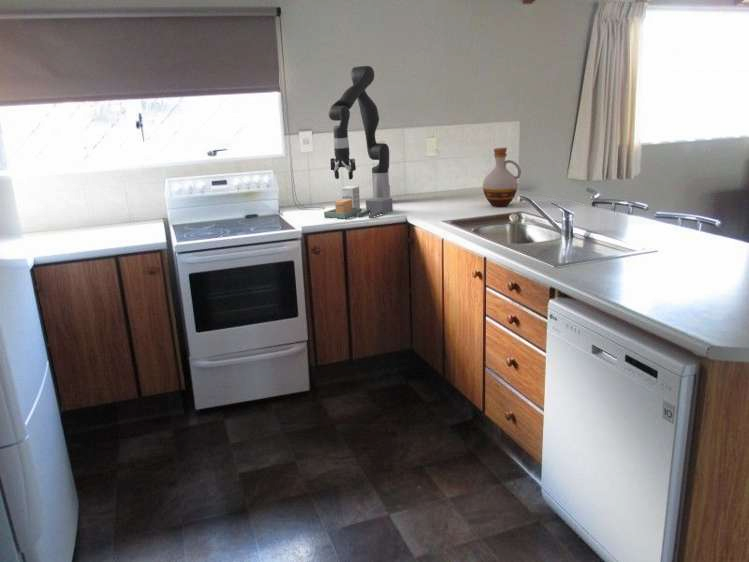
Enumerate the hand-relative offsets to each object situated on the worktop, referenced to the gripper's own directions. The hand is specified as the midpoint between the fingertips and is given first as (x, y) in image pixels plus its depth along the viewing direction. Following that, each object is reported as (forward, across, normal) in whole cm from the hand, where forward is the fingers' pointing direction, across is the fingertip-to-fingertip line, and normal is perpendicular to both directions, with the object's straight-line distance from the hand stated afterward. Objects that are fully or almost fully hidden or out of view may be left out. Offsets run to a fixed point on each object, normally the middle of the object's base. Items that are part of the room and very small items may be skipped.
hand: (343, 179), depth 325 cm
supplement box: (+19, +6, -13) cm, 24 cm away
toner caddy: (+18, 0, +1) cm, 18 cm away
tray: (+19, 0, +2) cm, 19 cm away
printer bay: (+19, -13, -7) cm, 24 cm away
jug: (+20, -65, -50) cm, 84 cm away
